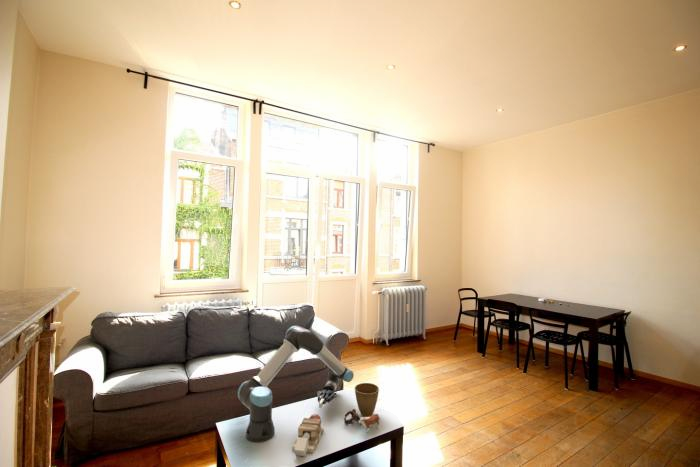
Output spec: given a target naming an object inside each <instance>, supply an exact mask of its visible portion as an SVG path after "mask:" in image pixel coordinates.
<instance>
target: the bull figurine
mask: <svg viewBox="0 0 700 467" xmlns="http://www.w3.org/2000/svg"><path fill="white" fill-rule="evenodd" d="M379 419H380V417H379V414H378V413H376V414H373V415H372V416H370V417H364V416H360V420H359V421H358V423H359V424H360V423H362V425H363V426H364V427H365V431H366V432H365V433H366V434H368V433H369V429H370V428H373V427H374V425H375V424H377V425H376V429H379V425H380V422H379ZM370 426H371V427H370Z"/></svg>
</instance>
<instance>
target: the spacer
mask: <svg viewBox="0 0 700 467" xmlns="http://www.w3.org/2000/svg"><path fill="white" fill-rule="evenodd" d="M297 438H298V439H297ZM297 438H296V439H297V442H296V446H295V449H294V450H295V451H294V454H295V456H299V457H307V453H308V452H307V450H308V446H309V442H308V438H301V437H298V436H297Z"/></svg>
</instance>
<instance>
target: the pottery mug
mask: <svg viewBox="0 0 700 467" xmlns="http://www.w3.org/2000/svg"><path fill="white" fill-rule="evenodd" d="M349 415H350V416H351V418H350V419H346V418H347V417H348V416H349ZM360 418H361V415H360V414H358V412H357V410H356V409H355V408H353V409H351V410H349V411H347V412H346V413H345V415H344V418H343V420H344V424H345V425H347V426H348V425H354V422H355V421H356V422H359V420H360ZM362 425H363V424H362V423H359V426H360V427H362Z"/></svg>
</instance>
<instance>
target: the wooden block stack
mask: <svg viewBox="0 0 700 467" xmlns="http://www.w3.org/2000/svg"><path fill="white" fill-rule="evenodd" d="M309 418H311V419H319V420H321V421H322V418H321V416H319V414H316V413H313V414H311V415H310V416H309ZM310 437H311V431H305V433H304V435H303V436H302V438H308V440H309V438H310Z"/></svg>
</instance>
